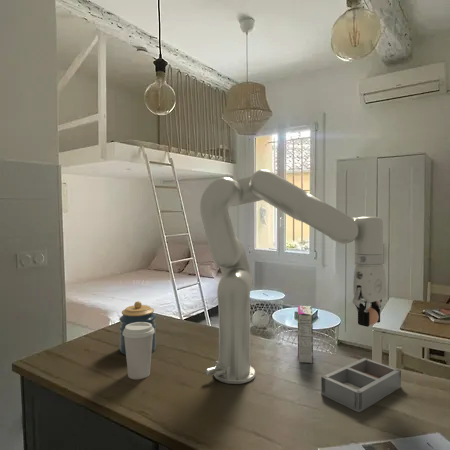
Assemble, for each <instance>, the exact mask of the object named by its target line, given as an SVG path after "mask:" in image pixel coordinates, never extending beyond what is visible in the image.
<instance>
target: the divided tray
mask: <svg viewBox="0 0 450 450" xmlns="http://www.w3.org/2000/svg"><path fill="white" fill-rule="evenodd" d="M320 380H321V387H320V388H321V389H320V390H321V391H320V392H321V395H322V396H324V397H326V398H327V399H330V400H333V401H334V402H336V403H338V404H340V405H342V406H344V407H346V408H348V409H350V410H353V411H355V413H362V412H363V411H364V410H366V409H368V408H369V407H371V406H373V405H374V404H376V403H378V402H380V401H381V400H382V399H384V398H386V397H387V396H389V395H391V394H392V393H394V392H395V391H398V390H399V389H400V388H402V370H401V369H398V368H395V367H392V366H390V365H387V364H385V363H381V362H378V361H375V360H374V359H373V360H372V359H370V358H366V357H363V358H361V359H359V360H356V361H354V362H352V363H349V364H348V365H345V366H343V367H340V368H338V369H336V370H334V371H331V372H330V373H328V374H325V375H321V379H320Z"/></svg>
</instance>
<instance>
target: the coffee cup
mask: <svg viewBox="0 0 450 450" xmlns="http://www.w3.org/2000/svg"><path fill="white" fill-rule="evenodd" d="M154 333H155V330H154V328H153V327H152V324H151V323H148V322H135V323H131V324H128V325H126V326H125V329H124V331H123V334H122V335H123V336H124V339H125V349H126V355H125V356H126V357H125V359H126V369H127V377H128V378H129V379H132V380H141V379H143V380H144V379H145V378H148V377H149V376H150V374H151V365H152V363H151V361H152V353H153V352H152V341H153V334H154Z"/></svg>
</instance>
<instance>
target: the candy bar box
mask: <svg viewBox="0 0 450 450" xmlns="http://www.w3.org/2000/svg"><path fill="white" fill-rule="evenodd" d="M313 315H314V314H313V309H312V306H311V305H297V360H298V363H303V364H313V362H314V347H313V346H314V331H313V330H314V329H313V327H314V324H313V320H314V319H313V317H314V316H313Z"/></svg>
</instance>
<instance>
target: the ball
mask: <svg viewBox="0 0 450 450" xmlns="http://www.w3.org/2000/svg"><path fill="white" fill-rule="evenodd" d="M368 312H369V326H373V325H375V324H378V323H377V321H378V319H379V316H378V313H377V311H376V310H375V309H373V308H371V306H369V307H368Z"/></svg>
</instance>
